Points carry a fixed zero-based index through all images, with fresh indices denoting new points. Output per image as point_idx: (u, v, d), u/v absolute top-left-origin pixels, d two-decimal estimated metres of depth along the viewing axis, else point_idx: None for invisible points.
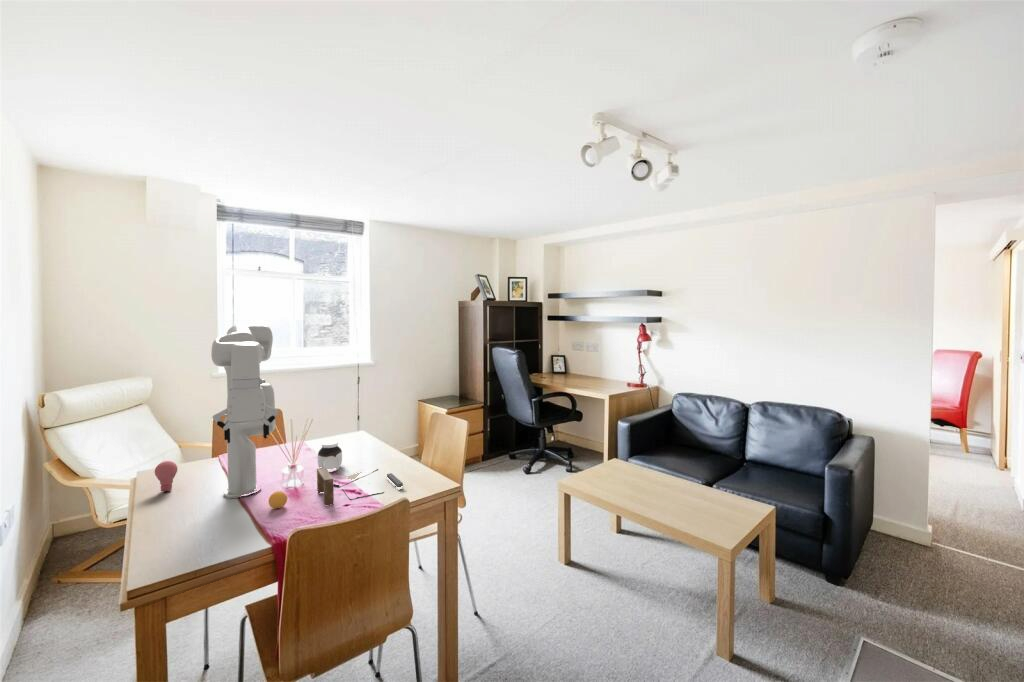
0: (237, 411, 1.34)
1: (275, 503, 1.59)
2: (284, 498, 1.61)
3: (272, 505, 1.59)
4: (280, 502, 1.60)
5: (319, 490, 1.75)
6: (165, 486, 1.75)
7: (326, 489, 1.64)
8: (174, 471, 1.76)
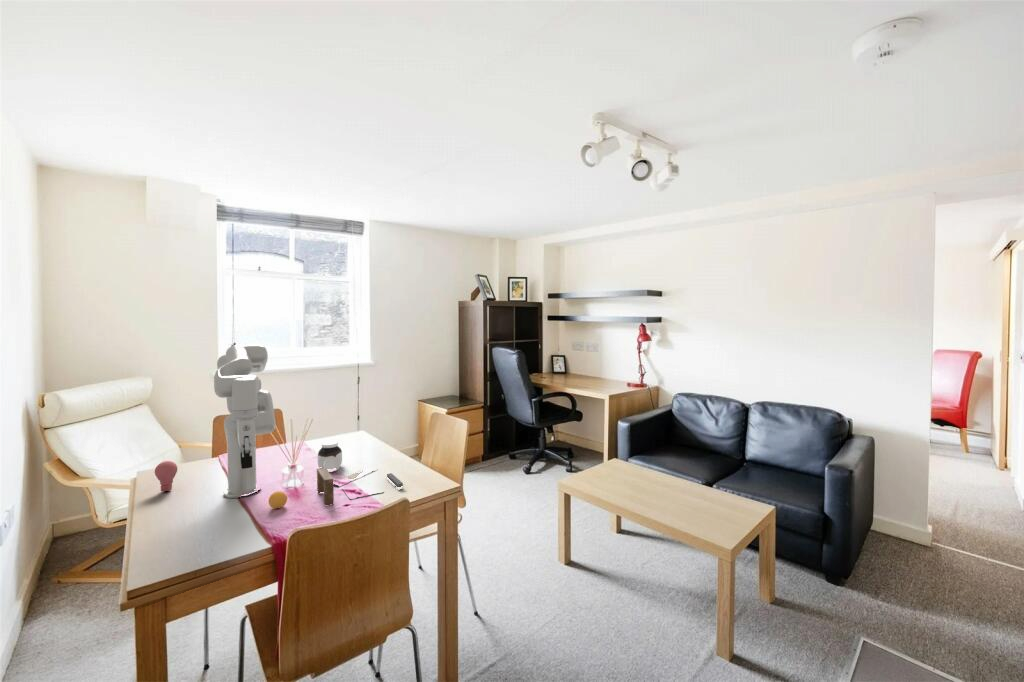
0: None
1: (275, 503, 1.59)
2: (284, 498, 1.61)
3: (272, 505, 1.59)
4: (280, 502, 1.60)
5: (319, 490, 1.75)
6: (165, 486, 1.75)
7: (326, 489, 1.64)
8: (174, 471, 1.76)
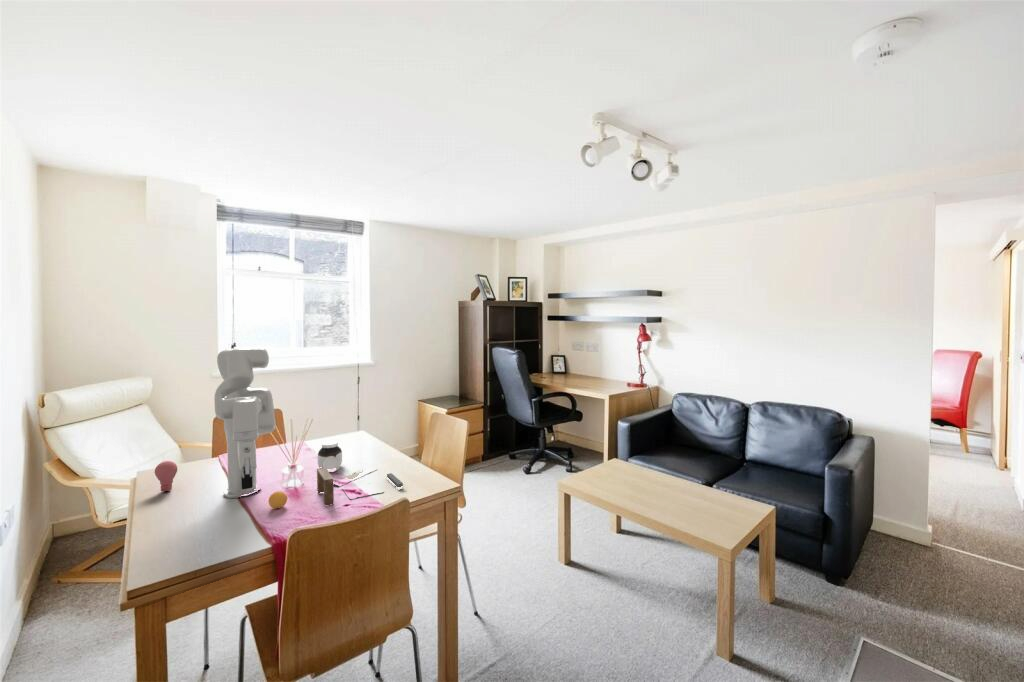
0: None
1: (275, 503, 1.59)
2: (284, 498, 1.61)
3: (272, 505, 1.59)
4: (280, 502, 1.60)
5: (319, 490, 1.75)
6: (165, 486, 1.75)
7: (326, 489, 1.64)
8: (174, 471, 1.76)
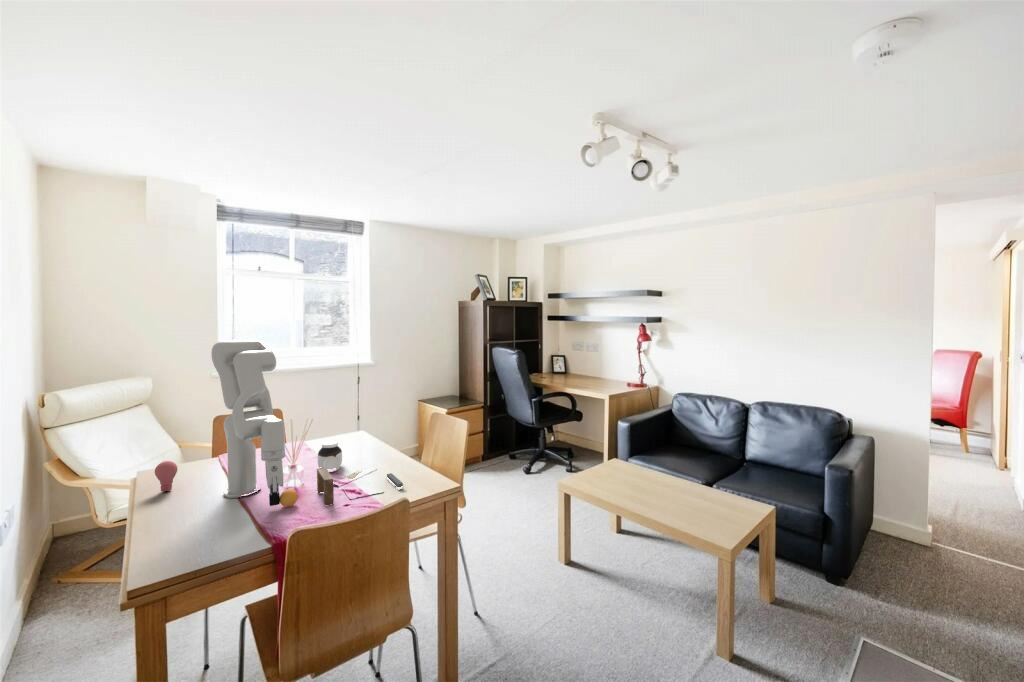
0: None
1: (287, 499, 1.61)
2: (294, 502, 1.63)
3: (283, 498, 1.61)
4: (290, 502, 1.61)
5: (319, 490, 1.75)
6: (165, 486, 1.75)
7: (326, 489, 1.64)
8: (174, 471, 1.76)
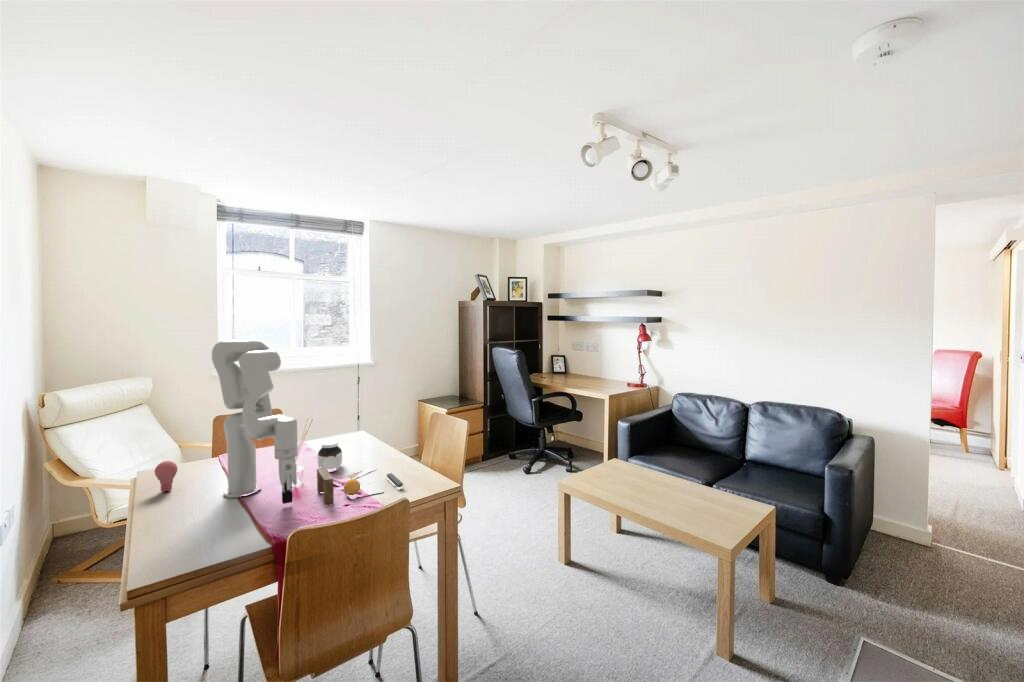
0: None
1: (354, 487, 1.72)
2: (352, 494, 1.72)
3: (352, 484, 1.72)
4: (352, 491, 1.72)
5: (319, 490, 1.75)
6: (165, 486, 1.75)
7: (326, 489, 1.64)
8: (174, 471, 1.76)
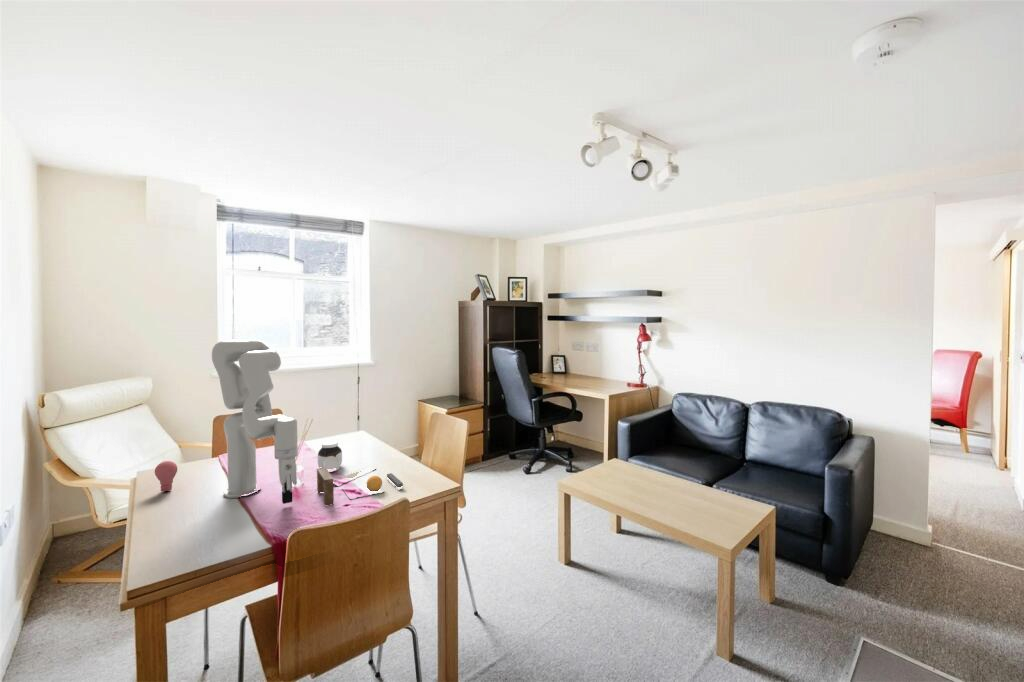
0: None
1: (375, 488, 1.76)
2: (374, 480, 1.76)
3: (377, 489, 1.77)
4: (376, 483, 1.76)
5: (319, 490, 1.75)
6: (165, 486, 1.75)
7: (326, 489, 1.64)
8: (174, 471, 1.76)
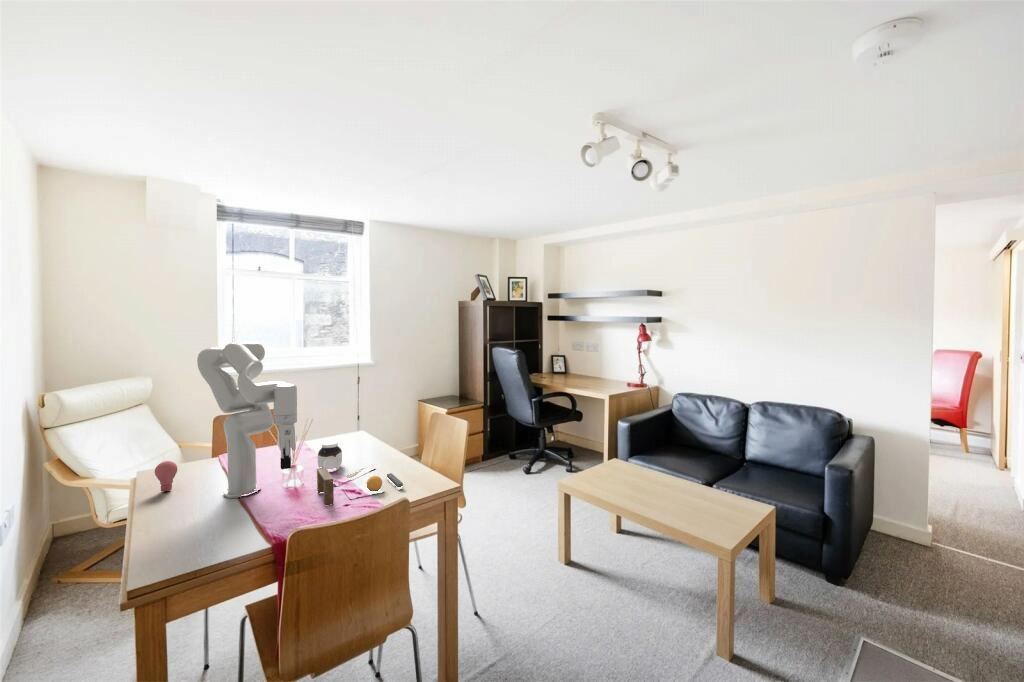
0: None
1: (375, 488, 1.76)
2: (374, 480, 1.76)
3: (377, 489, 1.77)
4: (376, 483, 1.76)
5: (319, 490, 1.75)
6: (165, 486, 1.75)
7: (326, 489, 1.64)
8: (174, 471, 1.76)
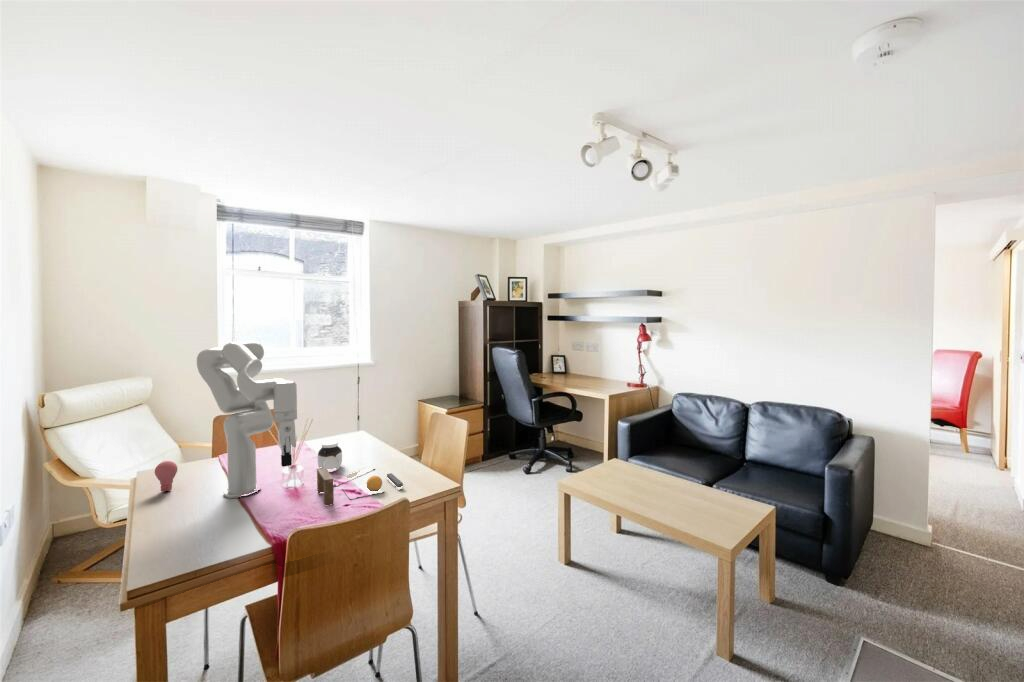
0: None
1: (375, 488, 1.76)
2: (374, 480, 1.76)
3: (377, 489, 1.77)
4: (376, 483, 1.76)
5: (319, 490, 1.75)
6: (165, 486, 1.75)
7: (326, 489, 1.64)
8: (174, 471, 1.76)
